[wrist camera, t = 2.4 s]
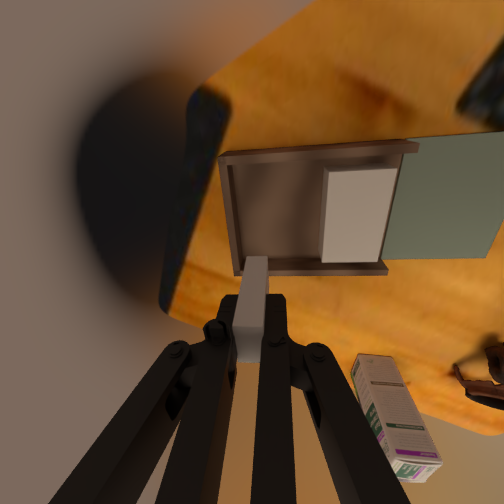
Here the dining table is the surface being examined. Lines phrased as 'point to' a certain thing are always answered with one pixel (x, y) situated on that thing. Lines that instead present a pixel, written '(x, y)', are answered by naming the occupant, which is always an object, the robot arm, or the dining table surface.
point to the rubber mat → (447, 198)
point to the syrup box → (394, 418)
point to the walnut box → (293, 203)
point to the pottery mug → (485, 392)
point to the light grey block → (354, 211)
